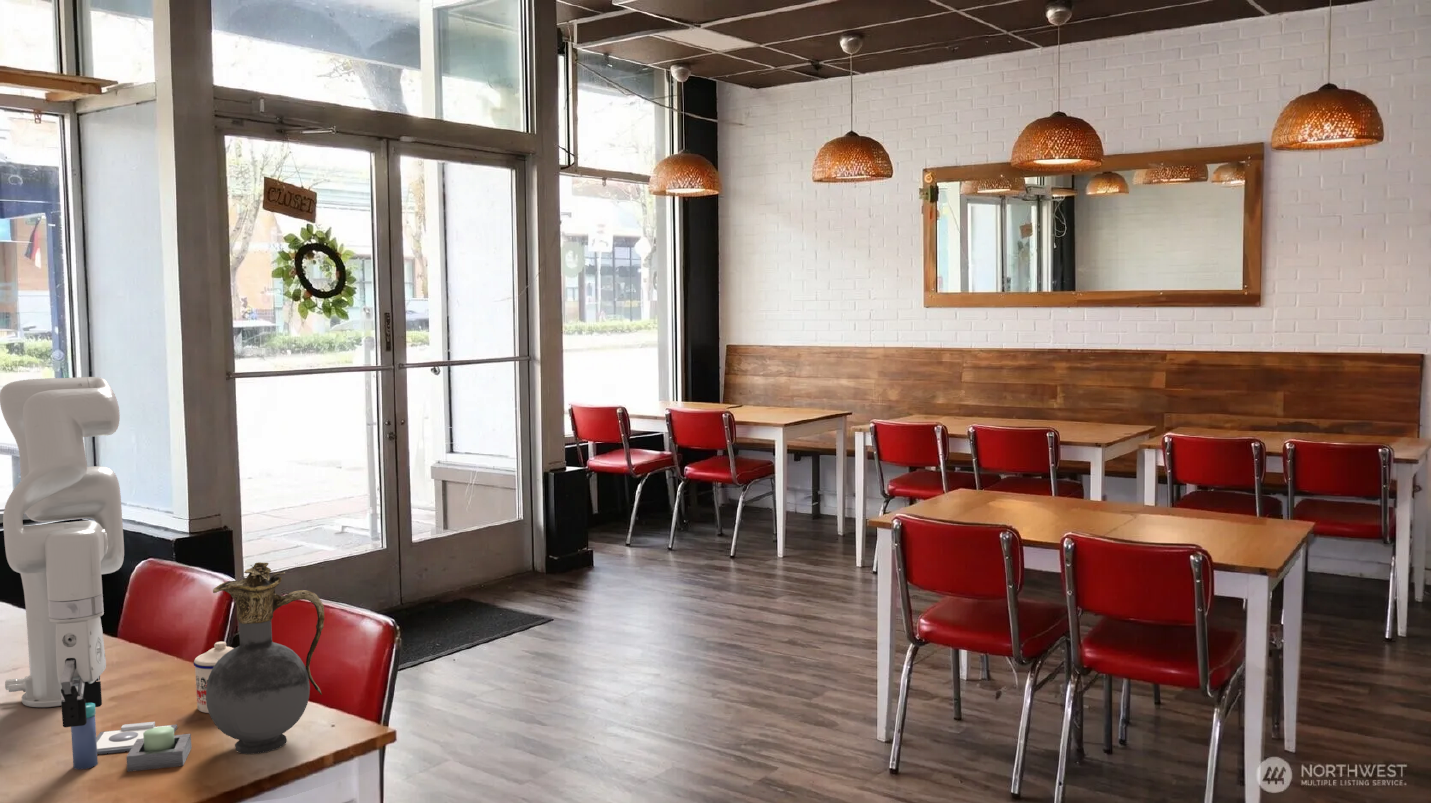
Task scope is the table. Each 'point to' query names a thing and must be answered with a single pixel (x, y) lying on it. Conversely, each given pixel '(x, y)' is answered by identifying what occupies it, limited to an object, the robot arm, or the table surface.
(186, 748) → the button base
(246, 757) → the table surface
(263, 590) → the pitcher
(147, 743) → the button
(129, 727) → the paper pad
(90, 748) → the cylinder
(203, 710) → the teacup with lid
